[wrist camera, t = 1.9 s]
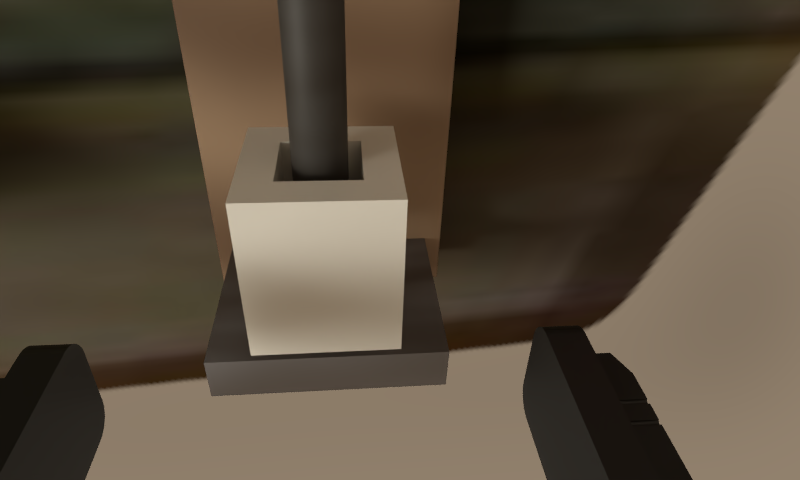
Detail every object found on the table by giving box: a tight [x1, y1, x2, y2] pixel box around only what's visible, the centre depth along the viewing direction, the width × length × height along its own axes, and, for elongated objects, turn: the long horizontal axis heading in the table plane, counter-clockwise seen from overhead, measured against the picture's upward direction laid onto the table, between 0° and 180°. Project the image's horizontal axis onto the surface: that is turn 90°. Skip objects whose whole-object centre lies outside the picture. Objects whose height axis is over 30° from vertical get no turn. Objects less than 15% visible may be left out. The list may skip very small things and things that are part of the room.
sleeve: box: [225, 126, 408, 356], centre depth 13 cm, size 4×3×3 cm
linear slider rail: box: [172, 0, 460, 396], centre depth 13 cm, size 17×7×7 cm, turn 178°
